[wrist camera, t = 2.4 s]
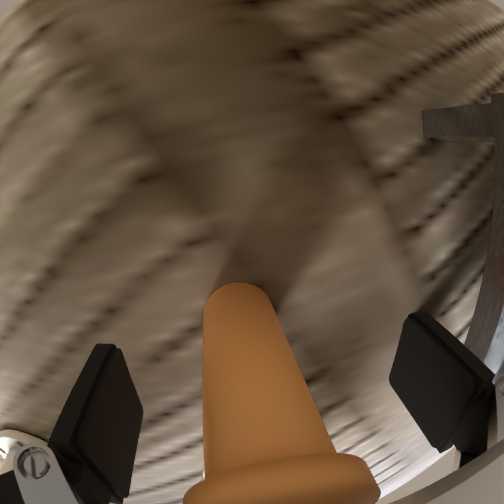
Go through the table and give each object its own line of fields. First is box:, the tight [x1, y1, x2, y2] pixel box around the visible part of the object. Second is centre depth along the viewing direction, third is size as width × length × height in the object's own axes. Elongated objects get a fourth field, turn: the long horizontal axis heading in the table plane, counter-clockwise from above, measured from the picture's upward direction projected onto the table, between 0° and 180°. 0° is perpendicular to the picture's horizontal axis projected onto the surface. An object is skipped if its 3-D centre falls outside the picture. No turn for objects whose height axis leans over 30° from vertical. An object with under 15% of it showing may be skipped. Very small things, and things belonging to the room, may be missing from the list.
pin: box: [183, 282, 381, 504], centre depth 9 cm, size 4×4×10 cm
